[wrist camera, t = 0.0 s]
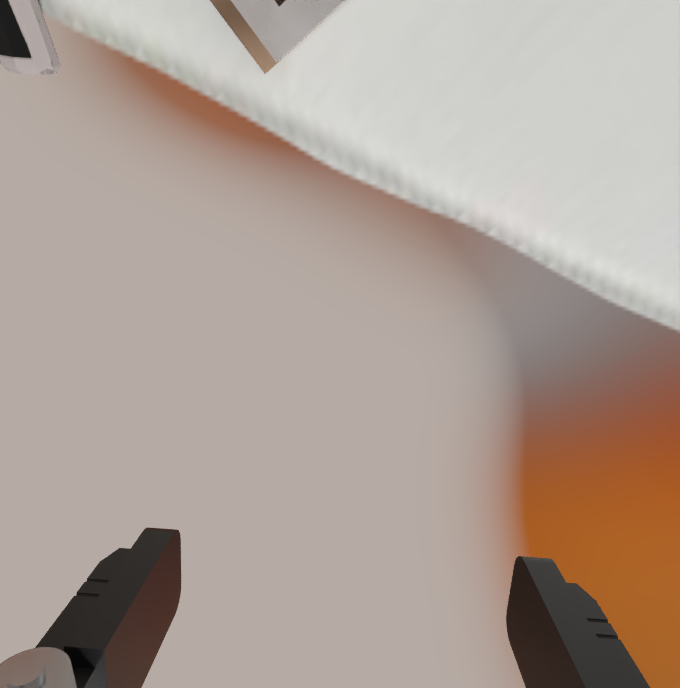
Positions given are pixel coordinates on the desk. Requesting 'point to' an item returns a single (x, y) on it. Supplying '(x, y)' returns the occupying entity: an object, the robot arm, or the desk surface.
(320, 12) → the wide steel port
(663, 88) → the desk surface
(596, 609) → the robot arm
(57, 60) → the toy gun
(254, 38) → the walnut board
